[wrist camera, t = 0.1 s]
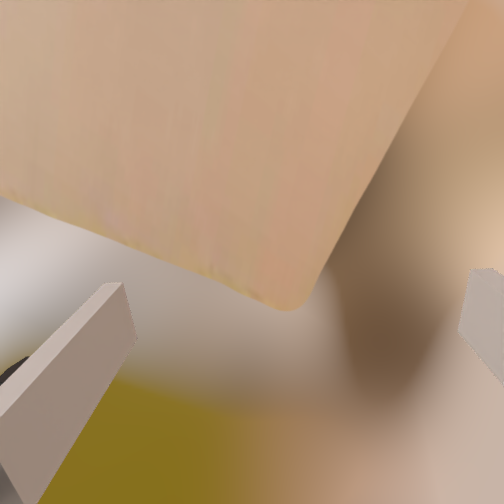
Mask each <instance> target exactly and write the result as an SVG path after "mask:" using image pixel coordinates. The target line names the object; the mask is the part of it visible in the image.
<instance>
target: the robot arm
mask: <svg viewBox="0 0 504 504" xmlns="http://www.w3.org/2000/svg"><path fill="white" fill-rule="evenodd" d="M458 333H459V334H460V336H461V337H462V338H463V339H464V340H465V341H466V343H467V344H468V345H469V346H470V347H471V349H472V350H473V351H474V352H475V353H476V354H477V356H478V357H479V358H480V359H481V360H482V361H483V363H484V364H485V365H486V366H487V367H488V368H489V370H490V371H491V372H492V373H493V374H494V376H495V377H496V378H497V379H498V380H499V382H500V383H501V384H502V385H503V386H504V276H503V275H502V274H500V273H499V272H497V271H496V270H494V269H493V268H492V269H470V274H469V279H468V284H467V289H466V294H465V298H464V303H463V308H462V312H461V317H460V322H459V327H458ZM136 341H137V335H136V331H135V327H134V323H133V319H132V316H131V312H130V308H129V304H128V300H127V296H126V293H125V289H124V285H123V283H104V284H103V285H102V286H101V287H100V288H99V289H98V290H97V291H96V292H95V293H94V294H93V295H92V296H91V297H90V298H89V299H88V300H87V301H86V302H85V303H84V304H83V305H82V306H81V307H80V308H79V309H78V310H77V311H76V312H75V313H74V314H73V315H72V316H71V317H70V318H69V319H68V320H67V321H66V322H65V323H64V324H63V325H62V326H61V327H60V328H59V329H58V330H57V331H56V332H55V333H54V334H53V335H52V336H51V337H50V338H49V339H48V340H46V341H45V342H44V344H42V346H40V348H38V349H37V350H36V352H34V353H33V354H32V355H31V356H30V357H25V358H24V359H22V360H21V361H19V362H17V363H16V364H14V365H13V366H11V367H10V368H8V369H7V370H6V371H5V372H4V373H3V374H2V375H1V376H0V504H37V503H38V501H39V499H40V498H41V496H42V494H43V493H44V491H45V489H46V488H47V486H48V485H49V483H50V481H51V480H52V478H53V476H54V475H55V473H56V472H57V470H58V468H59V466H60V465H61V463H62V462H63V460H64V458H65V457H66V455H67V454H68V452H69V450H70V449H71V447H72V445H73V444H74V442H75V440H76V439H77V437H78V436H79V434H80V432H81V431H82V429H83V427H84V426H85V424H86V422H87V421H88V419H89V418H90V416H91V414H92V413H93V411H94V409H95V408H96V406H97V404H98V403H99V401H100V399H101V398H102V396H103V395H104V393H105V391H106V390H107V388H108V386H109V385H110V383H111V381H112V380H113V378H114V377H115V375H116V373H117V372H118V370H119V368H120V367H121V365H122V364H123V362H124V360H125V359H126V357H127V355H128V354H129V352H130V351H131V349H132V347H133V346H134V344H135V342H136Z"/></svg>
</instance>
